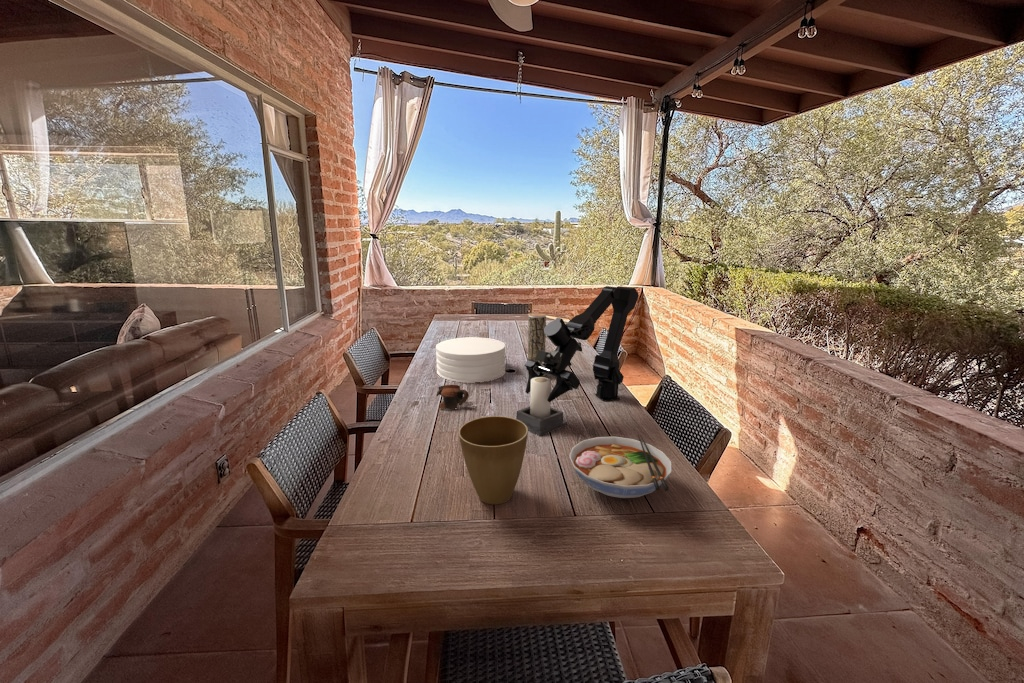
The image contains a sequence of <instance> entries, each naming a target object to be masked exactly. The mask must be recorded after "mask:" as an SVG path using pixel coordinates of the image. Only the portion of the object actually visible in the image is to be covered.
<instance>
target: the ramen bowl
mask: <svg viewBox="0 0 1024 683" xmlns="http://www.w3.org/2000/svg"><path fill="white" fill-rule="evenodd" d="M637 436H638V440H637V439H635V438H628V437H621V436H596V437H592V438H589V439H584V440H581V441H580V442H578V443H577V444H575V445H574V446H572V448H571V450H570V453H569V454H568V457H569V459H570V461H571V464H572V466H573V468H574V470H575V473H576V474H577V476H578V477H579V479H581V480H582V481H583V482H584V484H586V485H587V486H588V487H590V488H591V489H592V490H594V491H597V492H598V493H601V494H603V495H606V496H609V497H614V498H619V499H631V498H632V499H633V498H639V497H642V496H646V495H649V494H651V493H653V492H655V491H660V486H663V489H664V491H665V492H668V491H669V490H670V489H669V485H668V484H667V482H666V480H667V479H668V478H669V477H670V475H671V473H672V472H673V465H672V464H673V462H672V460H671V459H670V458H669V457H668V456H667V454H666V453H665V452H664V451H663V450H660V449H659V448H658V447H655V446H654V445H652V444H650V443H647V442H645V440H644V438H643V437H642V435H641V434H640V435H639V434H637Z"/></svg>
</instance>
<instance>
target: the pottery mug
mask: <svg viewBox="0 0 1024 683" xmlns="http://www.w3.org/2000/svg"><path fill="white" fill-rule="evenodd" d="M438 396H441V397H442V398H443V402H439V408H441V409H443V410H456V409H455V408H457V409H458V405H459V406H463V403H466V402H467V400H468V399H469V392H468V391H467V390H466V389H461V386H460V385H458V384H446V385H440V386H438V390H437V391H436V397H438ZM441 409H440V410H441Z"/></svg>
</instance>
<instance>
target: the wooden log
mask: <svg viewBox="0 0 1024 683" xmlns="http://www.w3.org/2000/svg"><path fill="white" fill-rule="evenodd" d="M527 320H528V323H527V324H528V327H527V328H528V330H527V331H528V333H527V335H528V336H527V337H528V339H527V340H528V341H527V360H530V359H531V360H534V361H538V362H539V363H540V364H541V365H542V366H543V367H544V368H545V366H544V365H543V364H542V361H539V360H535V357H536V354H537V351H538V350H541V351H545V352H546V338H547V336H546V334H545V333H544V328H545V326H546V325H547V314H546V313H541V312H536V313H535V312H533V313H532V312H531V313H529V314H528V318H527ZM527 375H528V376H529V373H528V372H527ZM545 375H546V374H544V375H543V376H541V377H545Z"/></svg>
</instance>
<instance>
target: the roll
mask: <svg viewBox="0 0 1024 683" xmlns="http://www.w3.org/2000/svg"><path fill="white" fill-rule="evenodd" d="M551 386H552V379H550V378H548V377H545V376H544V377H535V378H532V379H531V391H530V400H529V402H530V405H529V407H530V415H531V416H533V417H536V418H538V419H542V418H545V417H548V416H550V407H551V402H548V401H547V399H548V397H549V395H550V393H551V392H552V388H551Z"/></svg>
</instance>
